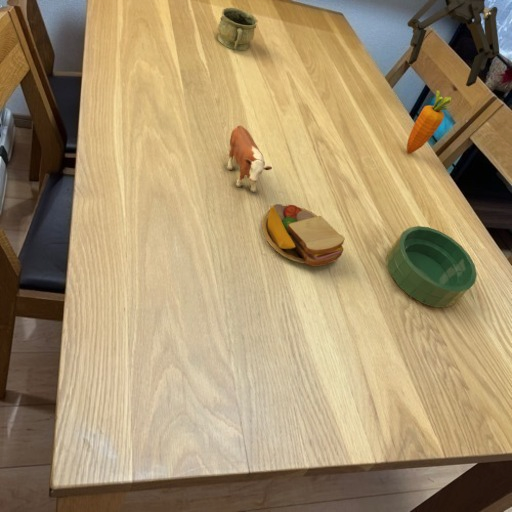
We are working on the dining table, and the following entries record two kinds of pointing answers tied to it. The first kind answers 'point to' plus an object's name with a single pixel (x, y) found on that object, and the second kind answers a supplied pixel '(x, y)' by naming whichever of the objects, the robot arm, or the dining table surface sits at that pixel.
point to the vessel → (236, 28)
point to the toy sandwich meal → (301, 235)
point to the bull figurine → (246, 156)
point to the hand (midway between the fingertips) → (441, 73)
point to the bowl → (431, 266)
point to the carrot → (427, 123)
